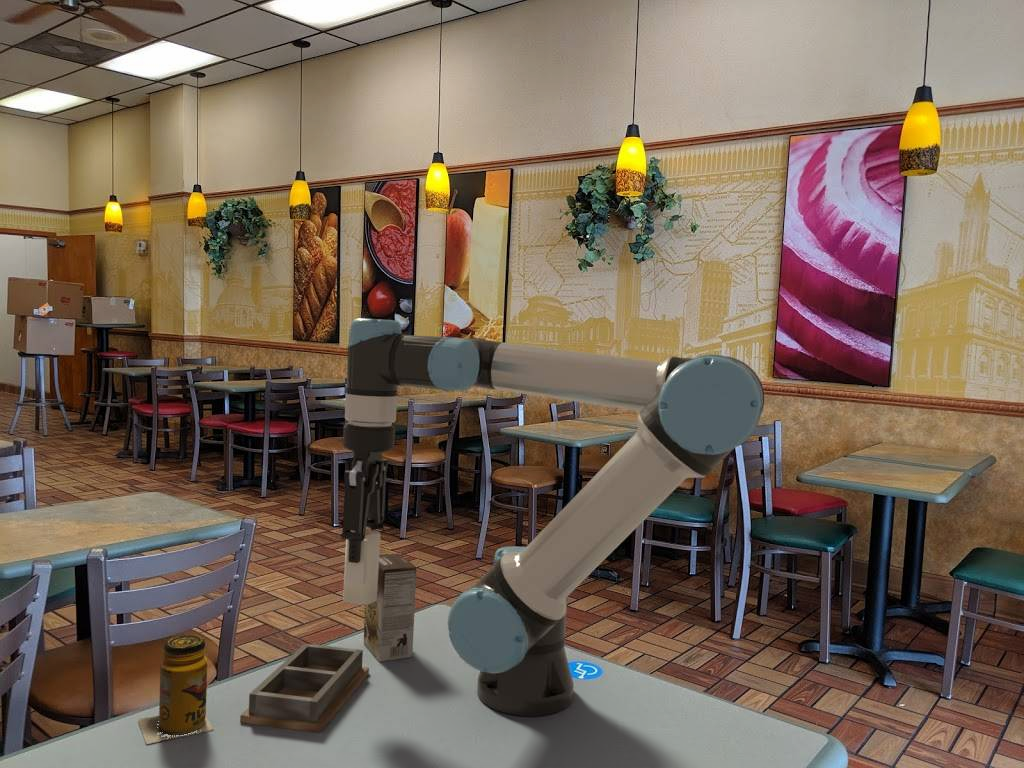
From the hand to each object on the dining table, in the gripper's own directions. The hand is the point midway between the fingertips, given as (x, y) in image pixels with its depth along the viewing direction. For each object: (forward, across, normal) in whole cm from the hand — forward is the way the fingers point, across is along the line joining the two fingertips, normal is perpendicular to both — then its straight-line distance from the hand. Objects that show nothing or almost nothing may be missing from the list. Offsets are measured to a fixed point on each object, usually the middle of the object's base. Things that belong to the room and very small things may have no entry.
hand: (361, 576), depth 118 cm
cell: (+3, 0, 0) cm, 3 cm away
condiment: (+20, +13, -21) cm, 32 cm away
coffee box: (+19, -20, -1) cm, 28 cm away
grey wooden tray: (+19, 0, -7) cm, 20 cm away
